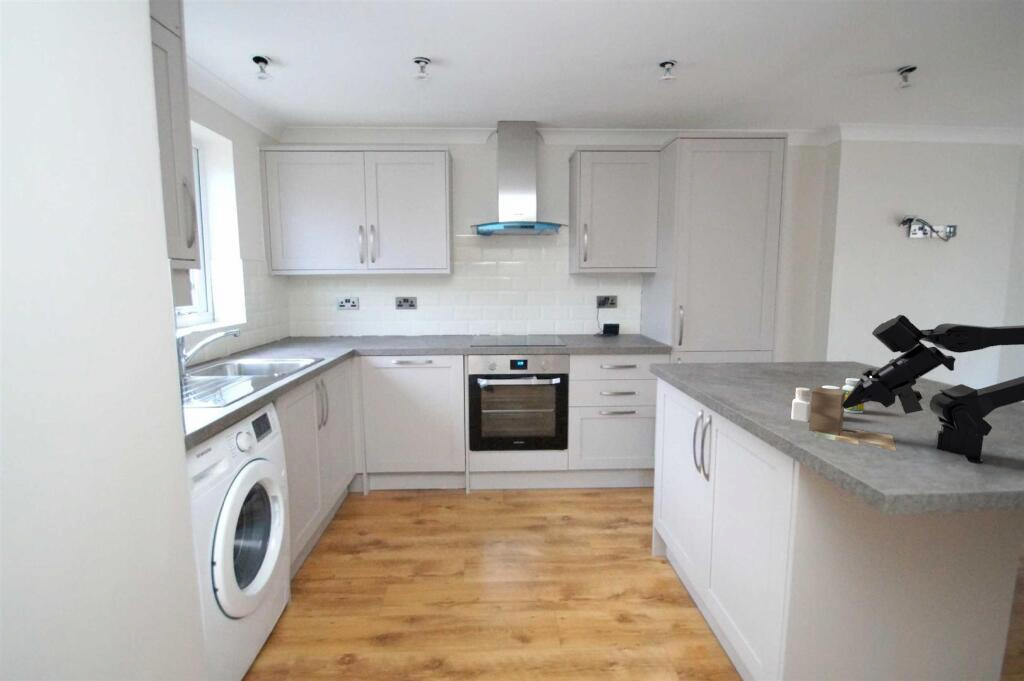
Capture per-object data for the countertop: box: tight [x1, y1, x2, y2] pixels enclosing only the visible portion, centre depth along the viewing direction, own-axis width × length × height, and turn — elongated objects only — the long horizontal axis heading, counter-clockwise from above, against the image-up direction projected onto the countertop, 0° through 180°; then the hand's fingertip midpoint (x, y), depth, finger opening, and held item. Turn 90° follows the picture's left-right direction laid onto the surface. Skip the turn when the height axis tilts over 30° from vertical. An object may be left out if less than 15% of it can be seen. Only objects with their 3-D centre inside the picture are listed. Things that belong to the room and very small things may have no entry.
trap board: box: [813, 427, 897, 452], centre depth 108 cm, size 15×12×1 cm
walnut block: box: [808, 386, 846, 436], centre depth 112 cm, size 6×6×10 cm
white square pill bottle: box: [790, 387, 811, 423], centre depth 121 cm, size 4×4×10 cm
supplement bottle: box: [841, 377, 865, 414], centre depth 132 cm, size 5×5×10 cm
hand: (843, 406), depth 108 cm, fingers closed
